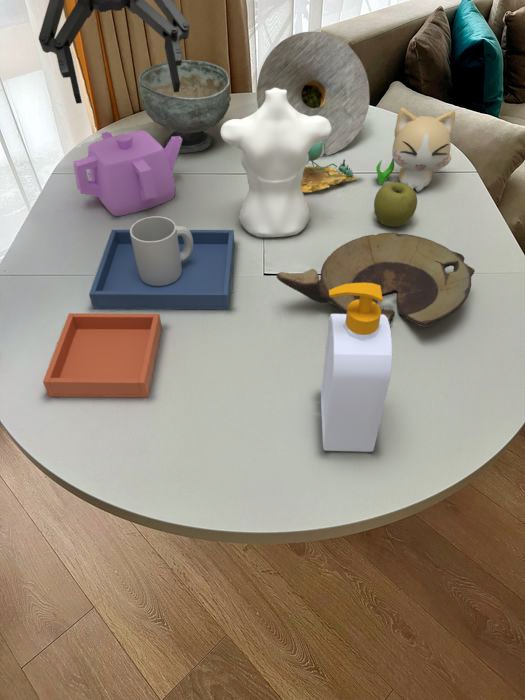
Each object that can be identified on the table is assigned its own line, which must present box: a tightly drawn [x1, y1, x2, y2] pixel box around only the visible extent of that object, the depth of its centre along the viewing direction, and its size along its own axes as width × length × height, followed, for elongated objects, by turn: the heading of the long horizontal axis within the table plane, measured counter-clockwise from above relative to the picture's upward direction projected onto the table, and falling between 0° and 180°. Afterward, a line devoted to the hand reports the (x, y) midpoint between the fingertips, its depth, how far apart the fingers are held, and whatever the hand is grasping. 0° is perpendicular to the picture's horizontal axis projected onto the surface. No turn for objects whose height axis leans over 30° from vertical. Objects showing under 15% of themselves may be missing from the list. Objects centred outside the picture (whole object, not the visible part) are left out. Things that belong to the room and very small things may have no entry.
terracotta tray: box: [42, 312, 163, 398], centre depth 80 cm, size 14×14×3 cm
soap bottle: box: [320, 283, 393, 453], centre depth 65 cm, size 9×7×23 cm
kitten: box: [376, 107, 456, 193], centre depth 110 cm, size 15×10×15 cm
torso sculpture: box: [219, 88, 331, 238], centre depth 96 cm, size 18×10×25 cm, turn 95°
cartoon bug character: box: [301, 141, 358, 194], centre depth 111 cm, size 10×18×15 cm, turn 83°
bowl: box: [137, 59, 232, 154], centre depth 123 cm, size 20×19×15 cm
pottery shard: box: [275, 232, 476, 327], centre depth 89 cm, size 22×30×8 cm
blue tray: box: [88, 229, 236, 310], centre depth 94 cm, size 22×18×3 cm
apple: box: [373, 181, 418, 228], centre depth 103 cm, size 8×8×7 cm
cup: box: [129, 215, 193, 287], centre depth 92 cm, size 7×10×9 cm
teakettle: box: [73, 130, 182, 217], centre depth 109 cm, size 17×17×12 cm
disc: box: [256, 31, 370, 158], centre depth 127 cm, size 25×18×25 cm
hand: (128, 93), depth 78 cm, fingers open, 13 cm apart
